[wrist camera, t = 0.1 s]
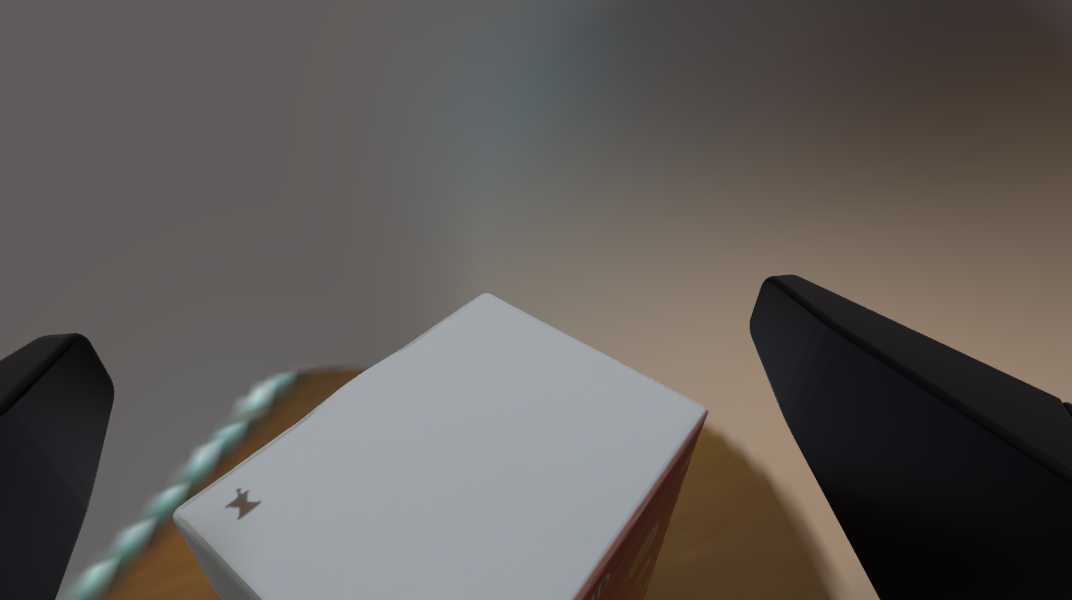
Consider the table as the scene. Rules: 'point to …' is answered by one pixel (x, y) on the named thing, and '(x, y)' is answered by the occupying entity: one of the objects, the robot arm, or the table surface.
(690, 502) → the table surface
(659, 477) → the small box
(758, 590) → the table surface
